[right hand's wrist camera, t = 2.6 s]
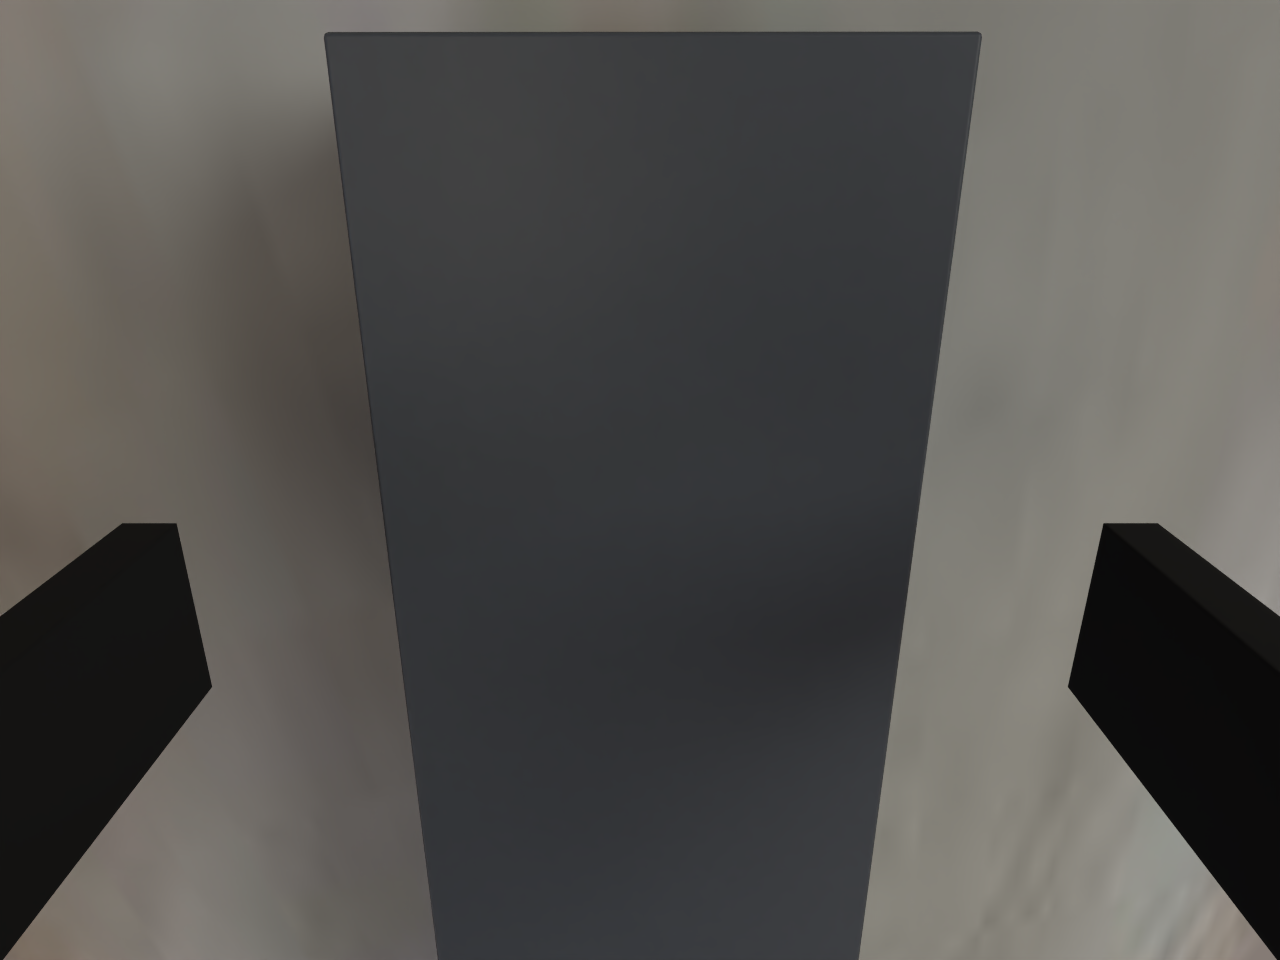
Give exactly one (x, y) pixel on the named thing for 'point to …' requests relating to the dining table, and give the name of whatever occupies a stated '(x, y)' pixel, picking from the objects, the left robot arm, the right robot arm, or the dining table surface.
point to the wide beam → (650, 461)
